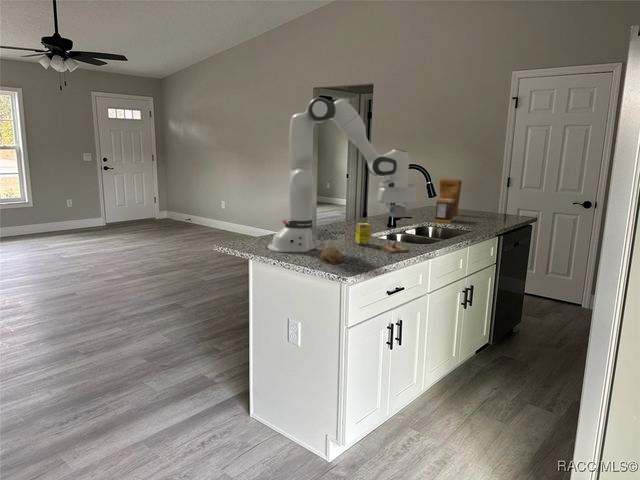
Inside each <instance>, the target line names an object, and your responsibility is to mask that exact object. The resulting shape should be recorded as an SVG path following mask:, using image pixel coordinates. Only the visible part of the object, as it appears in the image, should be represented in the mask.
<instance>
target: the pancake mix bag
mask: <svg viewBox="0 0 640 480" xmlns="http://www.w3.org/2000/svg"><path fill="white" fill-rule="evenodd" d="M462 183H463V180H461V179H452V178H450V179H447V178H440V179H438V183H437V184H438V194H439V198H438V199H440V198H448V199H455V203H454V214H453V217H456V216H457V217H458V216H459V215H458V214H459V205H460V204H459V202H460V197H461V192H462Z"/></svg>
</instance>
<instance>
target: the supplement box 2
mask: <svg viewBox="0 0 640 480" xmlns="http://www.w3.org/2000/svg"><path fill="white" fill-rule="evenodd" d="M454 203H455V199H448V198H440V199H439V198H438V199H436V207H435V208H436V209H435V220H434V221H435V222H440V223H451V222H452V221H454V216H453V214H454Z"/></svg>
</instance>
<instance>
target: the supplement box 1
mask: <svg viewBox="0 0 640 480" xmlns="http://www.w3.org/2000/svg"><path fill="white" fill-rule="evenodd" d="M371 226H372V224H370V223H368V222H356V226H355V228H356V229H355V244H356V245H358V246H370V243H371V241H370V239H371V230H372V229H371Z"/></svg>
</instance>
